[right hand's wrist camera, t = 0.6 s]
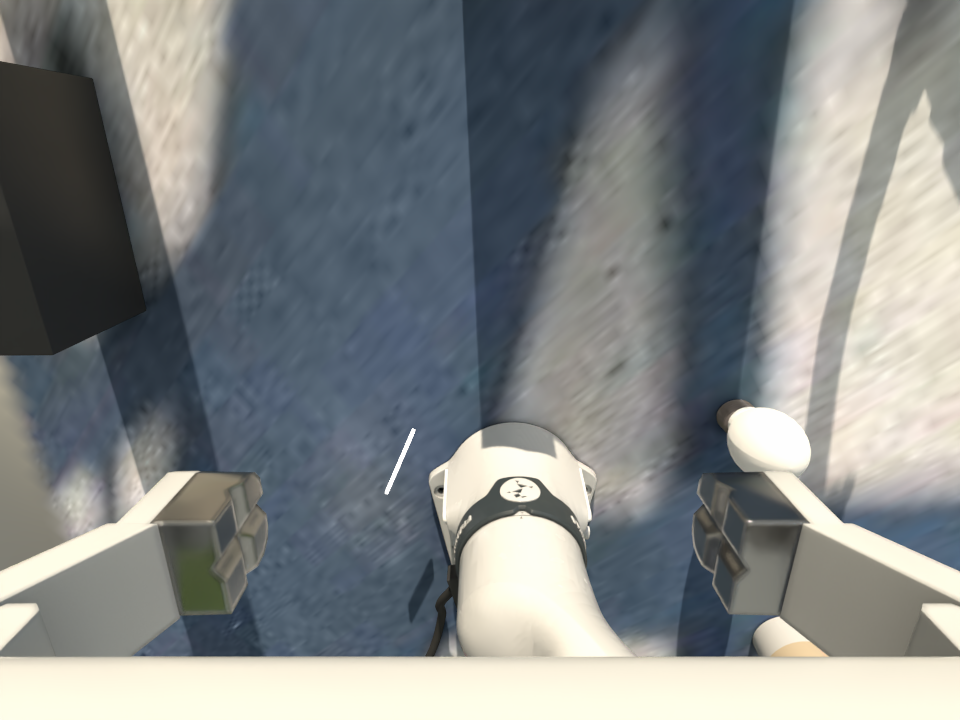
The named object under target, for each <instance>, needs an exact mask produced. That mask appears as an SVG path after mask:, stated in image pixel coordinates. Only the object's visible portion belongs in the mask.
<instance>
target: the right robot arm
mask: <svg viewBox="0 0 960 720" xmlns="http://www.w3.org/2000/svg"><path fill="white" fill-rule="evenodd" d="M414 433H415V429H412V431H411V433H410V435H409V438H408V440H407V442H406V444H405V447H404V449H403V451H402V454H401V456H400V458H399V461H398V463H397V465H396V468H395V470H394V472H393V474H392V477H391V479H390V481H389V484H388V486H387V488H386V491H385V494H388V492H389V490H390V488H391V486H392V483H393V481H394V479H395V476H396V474H397V472H398V469H399V467H400V465H401V463H402V460H403V458H404V456H405V453H406V451H407V449H408V447H409V444H410V442H411V440H412V437H413V435H414ZM596 483H597V479H596V474H595V472H594V471H593V470H592V469H591V468H589V467H588V466H586V465H585V464H583V463H581V462H579V461H577V460H576V459H575V458H574V456H573V455H572V454H571V452H570V451H569V449H568V448H567V447H566V445H565V444H564V443H563V442H562V441H561V440H560V439H559V438H558V437H556V436H555V435H554V434H552V433H551V432H549V431H547V430H545V429H543V428H541V427H538V426H535V425H531V424H527V423H518V422H510V423H501V424H496V425H493V426H489V427H487V428H484V429H482V430H480V431H478V432H477V433H475V434H473V435H472V436H471V437H469V438H468V439H467V440H466V441H465V442H464V443H463V444H462V445H461V446H460V447H459V449H458V450H457V451H456V453H455V454H454V456H453V457H452V458H451V459H450V460H449V461H448V462H446V463H444V464H442V465H441V466H439V467H437V468H436V469H435V470H433V471H432V472H431V473H430V475H429V486H430V489H431V493H432V497H433V500H434V504H435V507H436V511H437V515H438V518H439V522H440V525H441V529H442V532H443V536H444V540H445V543H446V547H447V550H448V554H449V558H450V561H451V565H449V566H448V574H447V582H448V585H449V587H448V588H447V589H446V590H445V591H444V592H443V593H442V595H441V596H440V597H439V598H438V600H437V602H436V605H435V607H436V610H437V612H438V618H437V623H436V628H435V632H434V636H433V639H432V642H431V645H430V648H429V650H428V652H427V654H426V656H425V657H131V656H133V655H134V654H135V653H136V652H138V651H139V650H140V649H141V648H143V647H144V646H145V645H146V644H148V643H149V642H150V641H152V640H153V639H154V638H155V637H157V636H158V635H159V634H160V633H162V632H163V631H164V630H166V629H167V628H168V627H169V626H171V625H172V624H173V623H174V622H176V621H177V620H178V619H179V618H180V615H213V614H232V612H233V610H234V608H235V607H236V605H237V603H238V601H239V599H240V598H241V596H242V594H243V592H244V590H245V589H246V587H247V585H248V583H247V577H246V574H247V573H248V572H250V571H251V570H253V569H254V568H256V567H257V566H258V565H259V563H260V561H261V559H262V557H263V555H264V552H265V548H266V543H267V539H268V523H267V516H266V513H265V512H264V511H263V510H262V509H261V508H260V507H259V506H258V505H257V504H256V503H257V502H258V500H259V498H260V497H261V495H262V494H263V491H262V486H261V481H260V477H259V476H258V475H257V474H256V473H255V472H215V471H202V472H200V471H174V472H169V473H167V474H166V475H165V476H164V477H163V478H162V479H161V480H160V481H159V482H158V483H157V484H156V485H155V486H154V487H153V488H152V489H151V490H150V491H149V492H148V493H147V494H146V495H145V496H144V497H143V498H142V499H141V500H140V501H139V502H138V503H137V504H136V505H135V506H134V507H133V508H132V509H131V510H130V511H129V512H128V513H127V514H126V515H125V516H124V517H123V518H122V519H121V520H120V521H119V522H118V523H116V524H105V525H103V526H101V527H99V528H96V529H94V530H92V531H90V532H87V533H85V534H83V535H81V536H78V537H76V538H74V539H72V540H70V541H67V542H65V543H63V544H61V545H58V546H56V547H54V548H52V549H49V550H47V551H45V552H43V553H40V554H38V555H36V556H34V557H31V558H29V559H27V560H25V561H23V562H20V563H18V564H16V565H14V566H11V567H9V568H7V569H5V570H2V571H0V720H960V571H957V570H955V569H953V568H951V567H948V566H946V565H944V564H942V563H939V562H937V561H935V560H933V559H931V558H928V557H926V556H924V555H922V554H919V553H917V552H915V551H913V550H910V549H908V548H906V547H904V546H902V545H899V544H897V543H895V542H893V541H890V540H888V539H886V538H884V537H881V536H879V535H877V534H875V533H873V532H870V531H868V530H866V529H864V528H861V527H859V526H857V525H855V524H844V523H843V522H842V521H841V520H840V519H838V518H837V517H836V516H835V515H834V514H833V513H832V512H831V511H830V510H829V509H828V508H827V507H826V506H825V505H824V504H823V503H822V502H821V501H820V500H819V499H818V498H817V497H816V496H815V495H814V494H813V493H812V492H811V491H810V490H809V489H808V488H807V487H806V486H805V485H804V484H803V483H802V482H801V481H800V480H799V479H798V478H797V477H796V476H795V475H794V474H793V473H791V472H788V471H763V472H728V473H703V474H702V476H701V478H700V481H699V485H698V491H697V494H698V495H699V497H700V498H701V500H702V502H703V503H704V504H703V505H702V506H701V507H700V508H699V509H698V510H697V511H696V512H695V513H694V516H693V524H692V536H693V545H694V548H695V552H696V555H697V557H698V559H699V561H700V563H701V565H702V566H703V567H704V568H706V569H707V570H709V571H710V572H712V573H713V574H714V577H713V583H712V585H713V587H714V589H715V590H716V592H717V594H718V596H719V598H720V599H721V601H722V603H723V605H724V607H725V608H726V610H727V612H728V614H746V615H780V618H781V619H782V620H783V621H785V622H786V623H787V624H788V625H790V626H791V627H792V628H793V629H795V630H796V631H797V632H798V633H800V634H801V635H802V636H804V637H805V638H806V639H807V640H809V641H810V642H811V643H812V644H814V645H815V646H816V647H817V648H819V649H820V650H821V651H823V652H824V653H825V654H826V655H828V656H829V657H638V656H636V655H635V654H634V653H633V652H632V651H631V650H630V649H629V648H628V647H627V646H626V645H625V644H624V643H623V642H622V640H621V639H620V638H619V637H618V636H617V635H616V634H615V632H614V631H613V630H612V629H611V627H610V626H609V625H608V623H607V622H606V620H605V619H604V617H603V615H602V613H601V611H600V609H599V606H598V604H597V601H596V598H595V596H594V593H593V590H592V587H591V584H590V581H589V578H588V575H587V571H586V566H587V554H586V543H585V539H589V536H590V528H589V526H587V524H588V522H589V521H591V510H590V503H591V500H592V497H593V493H594V490H595V487H596ZM439 488H444V490H439ZM452 596H453V599H454V602H455V604H456V607H457V634H458V639H459V642H460V645H461V648H462V650H463V652H464V654H465V656H466V657H434V655H435V652H436V650H437V648H438V645H439V642H440V639H441V635H442V632H443V627H444V623H445V618H446V609H445V607H444V605H445V603H446V602H447V601H448V600H449V599H450V598H451V597H452Z"/></svg>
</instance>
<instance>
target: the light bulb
mask: <svg viewBox="0 0 960 720" xmlns="http://www.w3.org/2000/svg"><path fill="white" fill-rule="evenodd" d="M717 422H718V424H719V425H720V426H721V427H722V429H723V430H724V431H725V432H726V433H727V445H728V448H729V451H730V454H731V456H732V458H733V460H734V461H735V463H736V464H737V465H738V466H739V467H740V468H741V469H742V470H743V471H744V472H763V471H788V472H791V473H793V474H794V475H795V476H796V477H797V478H798V477H799V476H801V475H802V474H803V473H804V472H805V470H806V469H807V467H808V465H809V462H810V457H811V448H810V444H809V440H808V438H807V436H806V434H805V432H804V430H803V429H802V428H801V427H800V426H799V425H798V423H797V422H796V421H795V420H793V419H792V418H790V417H789V416H787V415H786V414H784V413H782V412H779V411H777V410H774V409H770V408H754V407H753V406H752V405H751V404H750V403H749V402H747V401H744V400H732V401H729V402H727V403H725V404H724V405H722V406H721V408H720V409H719V410H718V412H717Z"/></svg>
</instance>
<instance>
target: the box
mask: <svg viewBox="0 0 960 720" xmlns="http://www.w3.org/2000/svg"><path fill="white" fill-rule="evenodd" d="M144 311H146V306H145V302H144V298H143V294H142V289H141V285H140V281H139V276H138V272H137V268H136V263H135V259H134V255H133V251H132V246H131V242H130V238H129V233H128V229H127V225H126V221H125V216H124V212H123V208H122V203H121V199H120V195H119V190H118V186H117V182H116V178H115V173H114V169H113V165H112V160H111V156H110V152H109V148H108V143H107V139H106V135H105V130H104V126H103V122H102V117H101V113H100V109H99V105H98V100H97V96H96V92H95V87H94V83H93V79H92V78H87V77H81V76H76V75H71V74H65V73H60V72H55V71H49V70H44V69H39V68H34V67H28V66H23V65H18V64H12V63H7V62H2V61H0V355H54V354H56V353H58V352H60V351H62V350H64V349H67V348H69V347H71V346H73V345H75V344H77V343H79V342H81V341H83V340H85V339H88V338H90V337H92V336H94V335H96V334H98V333H100V332H102V331H104V330H106V329H109V328H111V327H113V326H115V325H117V324H119V323H121V322H123V321H125V320H127V319H130V318H132V317H134V316H136V315H138V314H140V313H142V312H144Z"/></svg>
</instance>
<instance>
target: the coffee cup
mask: <svg viewBox="0 0 960 720" xmlns="http://www.w3.org/2000/svg"><path fill="white" fill-rule="evenodd" d="M753 645H754V647H755V649H756V651H757V653H758V655H759V657H829V656H828V655H826V654H825V653H824V652H823V651H821V650H820V649H819V648H817V647H816V646H815V645H814V644H812V643H811V642H810V641H809V640H807V639H806V638H805V637H804V636H802V635H801V634H800V633H798V632H797V631H796V630H795V629H793V628H792V627H791V626H790V625H788V624H787V623H786V622H785V621H783V620H782V619H781V618H780V617H776V618H773V619H770V620H768V621H766V622H764V623H763V624H762V625H760V626H759V627H758V628H757V630H756V631H755V633H754V636H753Z"/></svg>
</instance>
